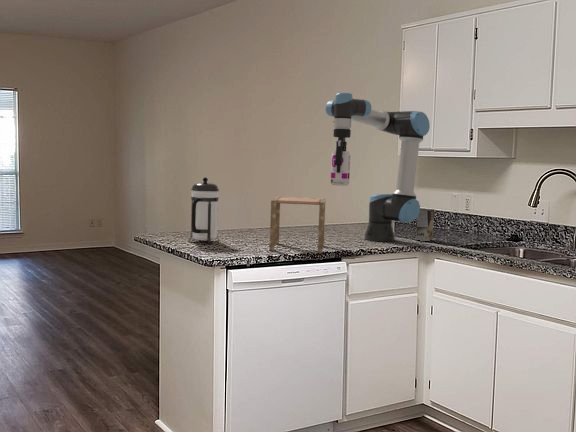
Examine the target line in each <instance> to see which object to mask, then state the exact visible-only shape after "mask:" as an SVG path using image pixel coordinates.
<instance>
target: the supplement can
mask: <svg viewBox="0 0 576 432" xmlns="http://www.w3.org/2000/svg"><path fill="white" fill-rule="evenodd" d="M350 153H351V152H350V151H347V150H346V151H343V154H342V165H341V166H342V180H335V173H336V165H334V163H335V159H336V150H333V151H332V153H331V162H330V163H331V164H330V165H331V166H330V184H331V186H338V187H339V186H342V187H344V186H349V185H350V171H351V170H350V169H351V154H350Z"/></svg>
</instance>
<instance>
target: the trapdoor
mask: <svg viewBox="0 0 576 432" xmlns="http://www.w3.org/2000/svg"><path fill="white" fill-rule="evenodd" d="M280 197H281V198H280V199H278V200H277V203H280V204H290V205H291V204H292V205H315V206H319V205H320V199H312V198H313V197H297V198H287V197H288V196H280Z"/></svg>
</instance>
